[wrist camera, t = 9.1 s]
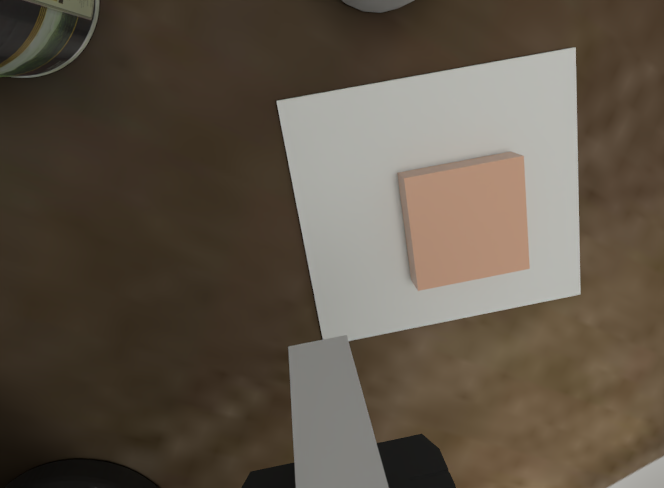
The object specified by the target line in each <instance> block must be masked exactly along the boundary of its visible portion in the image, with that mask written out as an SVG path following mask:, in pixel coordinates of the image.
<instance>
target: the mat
mask: <svg viewBox="0 0 664 488" xmlns="http://www.w3.org/2000/svg"><path fill="white" fill-rule="evenodd" d="M276 102H277V107H278V112H279V118H280V123H281V128H282V133H283V138H284V143H285V148H286V153H287V159H288V164H289V169H290V174H291V179H292V184H293V189H294V195H295V200H296V205H297V210H298V215H299V220H300V225H301V231H302V236H303V241H304V246H305V251H306V256H307V261H308V267H309V272H310V277H311V282H312V287H313V292H314V297H315V303H316V308H317V313H318V318H319V323H320V328H321V333H322V338H323V340H324V339H329V338H334V337H339V336H344V335H347V338H348V341H352V340H356V339H361V338H366V337H371V336H376V335H381V334H386V333H391V332H396V331H401V330H406V329H411V328H416V327H421V326H426V325H431V324H436V323H441V322H446V321H451V320H456V319H461V318H466V317H471V316H476V315H481V314H486V313H491V312H495V311H500V310H505V309H510V308H515V307H520V306H525V305H530V304H535V303H540V302H545V301H550V300H555V299H560V298H565V297H570V296H575V295H580V245H579V195H578V144H577V94H576V47H575V48H567V49H561V50H556V51H550V52H545V53H539V54H534V55H528V56H522V57H517V58H511V59H506V60H500V61H494V62H489V63H483V64H478V65H472V66H467V67H461V68H455V69H450V70H444V71H439V72H433V73H428V74H422V75H416V76H411V77H405V78H400V79H394V80H389V81H383V82H377V83H372V84H366V85H361V86H355V87H350V88H344V89H338V90H333V91H327V92H322V93H316V94H311V95H305V96H299V97H294V98H288V99H283V100H277V101H276ZM505 152H514V153H517V154H520V155H523V156H524V169H525V188H526V207H527V227H528V246H529V265H530V269H526V270H521V271H516V272H511V273H506V274H501V275H496V276H491V277H486V278H481V279H476V280H471V281H466V282H461V283H456V284H450V285H445V286H440V287H435V288H430V289H425V290H420V291H418V290H417V289H416V287H415V285H414V284H413V282H412V281H411V276H410V268H409V260H408V253H407V245H406V237H405V230H404V222H403V214H402V206H401V199H400V191H399V183H398V176H397V173H399V172H404V171H409V170H415V169H420V168H425V167H431V166H436V165H441V164H447V163H452V162H457V161H463V160H468V159H473V158H479V157H484V156H489V155H495V154H500V153H505Z"/></svg>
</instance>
